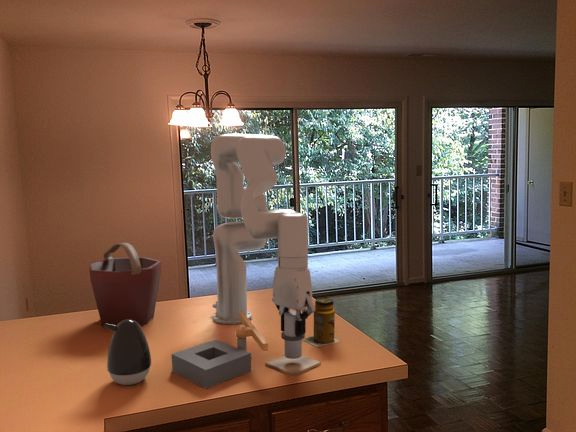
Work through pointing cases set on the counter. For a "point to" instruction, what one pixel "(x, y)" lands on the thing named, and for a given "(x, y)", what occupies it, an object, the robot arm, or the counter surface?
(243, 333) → the knobbed wooden stick
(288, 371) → the pad
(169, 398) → the counter surface
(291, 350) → the plug
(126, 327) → the pump dispenser
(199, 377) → the socket block
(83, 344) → the counter surface
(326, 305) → the condiment
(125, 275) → the bucket
